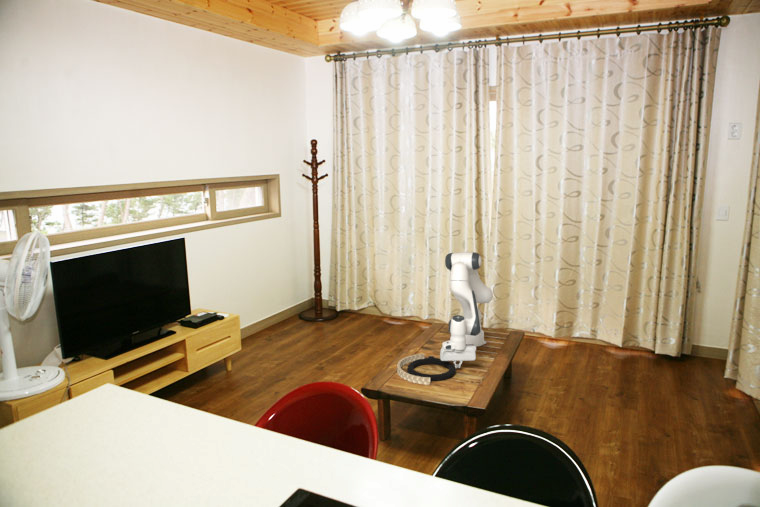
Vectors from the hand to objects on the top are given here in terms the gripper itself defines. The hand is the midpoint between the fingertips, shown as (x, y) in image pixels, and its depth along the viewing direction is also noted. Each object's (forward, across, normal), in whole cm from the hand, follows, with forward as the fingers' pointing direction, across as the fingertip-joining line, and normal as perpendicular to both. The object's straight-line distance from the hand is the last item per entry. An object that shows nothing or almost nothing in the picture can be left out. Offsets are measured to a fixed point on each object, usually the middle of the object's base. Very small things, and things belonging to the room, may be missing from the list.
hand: (457, 367), depth 296 cm
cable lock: (+2, +15, 0) cm, 15 cm away
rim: (+2, +26, 0) cm, 26 cm away
